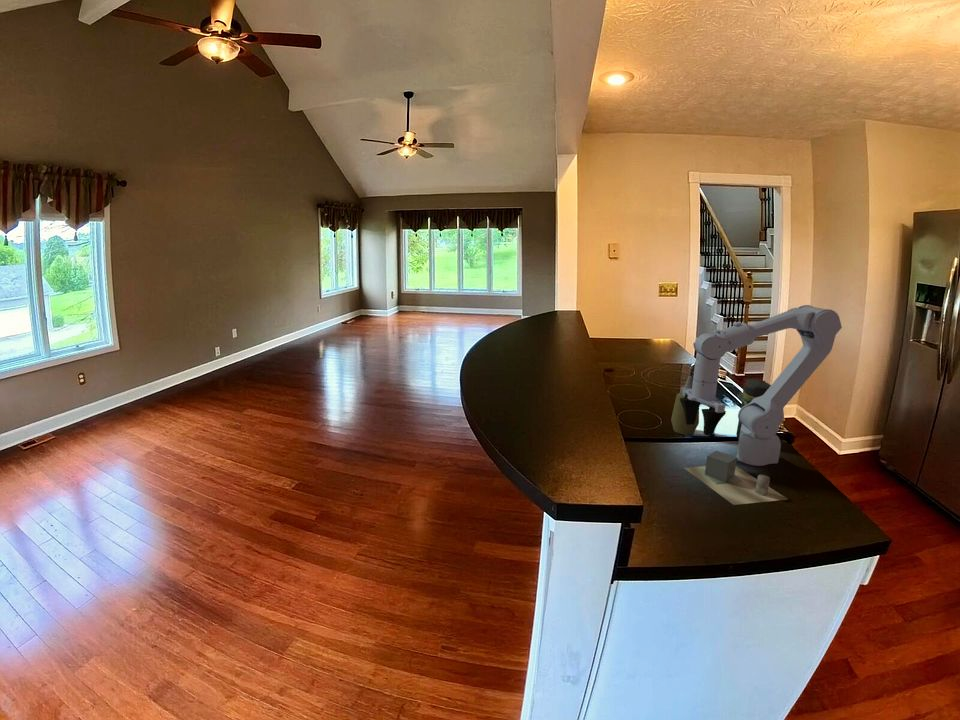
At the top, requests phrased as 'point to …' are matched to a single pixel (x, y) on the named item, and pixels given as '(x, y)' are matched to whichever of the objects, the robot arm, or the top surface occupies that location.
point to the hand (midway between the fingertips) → (698, 429)
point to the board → (740, 487)
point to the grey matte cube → (720, 466)
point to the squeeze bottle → (679, 415)
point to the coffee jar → (752, 395)
